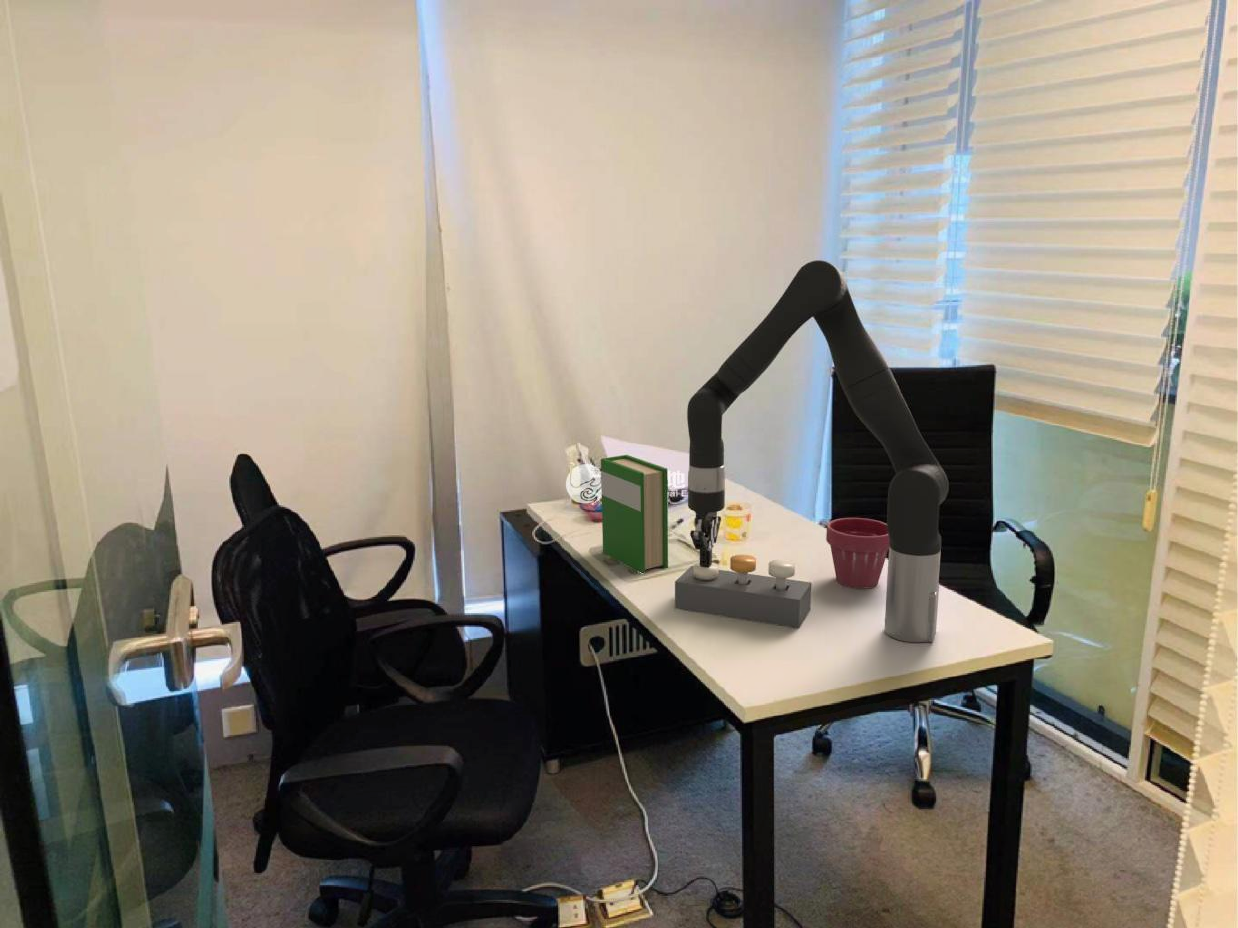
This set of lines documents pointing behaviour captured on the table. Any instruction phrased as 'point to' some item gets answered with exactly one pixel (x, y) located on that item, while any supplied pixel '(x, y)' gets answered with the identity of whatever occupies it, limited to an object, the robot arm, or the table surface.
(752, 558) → the middle knob
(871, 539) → the plant pot
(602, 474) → the hardback book
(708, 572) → the far knob
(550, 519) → the table surface
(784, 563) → the near knob
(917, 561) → the robot arm
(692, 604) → the control block
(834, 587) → the table surface
